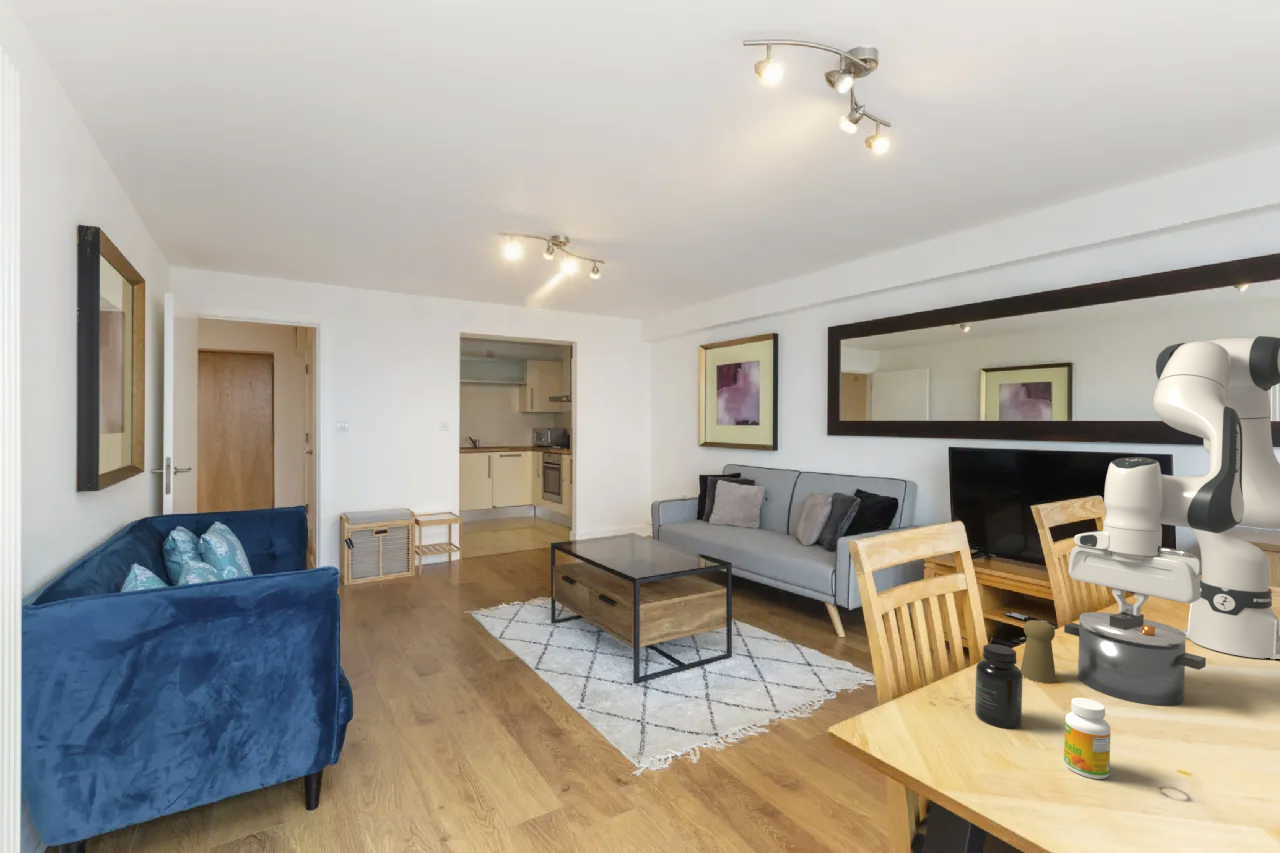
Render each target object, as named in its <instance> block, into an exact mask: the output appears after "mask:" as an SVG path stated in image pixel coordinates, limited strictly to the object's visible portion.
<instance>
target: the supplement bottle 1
mask: <svg viewBox="0 0 1280 853" xmlns="http://www.w3.org/2000/svg"><path fill="white" fill-rule="evenodd" d="M982 648H983V650H982V652H983V653H982V658H983V659H982V660H979V661H978V662H977V664H976V667H975V691H974V692H975V696H974V705H975V706H974V711H975V712H974V714H975V716H976V717H977V718H978V719H979V720H980V721H981V722H984V723H986V724H988V725H991V726H993V727H997V728H1000V729H1001V728H1002V729H1014V728H1015V729H1016V728H1018V727H1019V726H1020V725H1021V724H1022V715H1023V711H1022V710H1023V705H1022V704H1023V678H1024V677H1023V676H1022V672H1021V668H1019V667H1018V666H1017V652H1016V650H1015V649H1013V648H1011V647H1009V646H1006V645H1001V644H995V643H994V644H993V643H992V644H991V643H990V644H985V645H983V647H982Z"/></svg>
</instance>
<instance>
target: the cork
mask: <svg viewBox="0 0 1280 853" xmlns="http://www.w3.org/2000/svg"><path fill="white" fill-rule="evenodd" d="M1023 631H1024V634H1025V636H1026V640H1025V644H1024V650H1023V656H1022V661H1021V667H1020V671H1021V672H1022V675H1023V676H1024V677H1026V678H1028V679H1030V680H1029V681H1031V680H1033V681H1032V682H1035V681H1037V682H1036V683H1039V682H1043V683H1042V684H1054V682H1055V681H1056V682H1057V676H1056V670H1055V659H1054V652H1053V645H1052V641H1054V638H1055V635H1056V631H1055V628H1054V626H1053V625H1052V624H1050V623H1048V622H1045V621H1042V620H1034V619H1033V620H1032V619H1031V620H1030V619H1029V620H1027V621H1026V622H1025V623H1024V626H1023ZM1024 677H1023V678H1024ZM1026 678H1025V679H1026ZM1028 679H1027V680H1028ZM1056 682H1055V683H1056Z"/></svg>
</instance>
